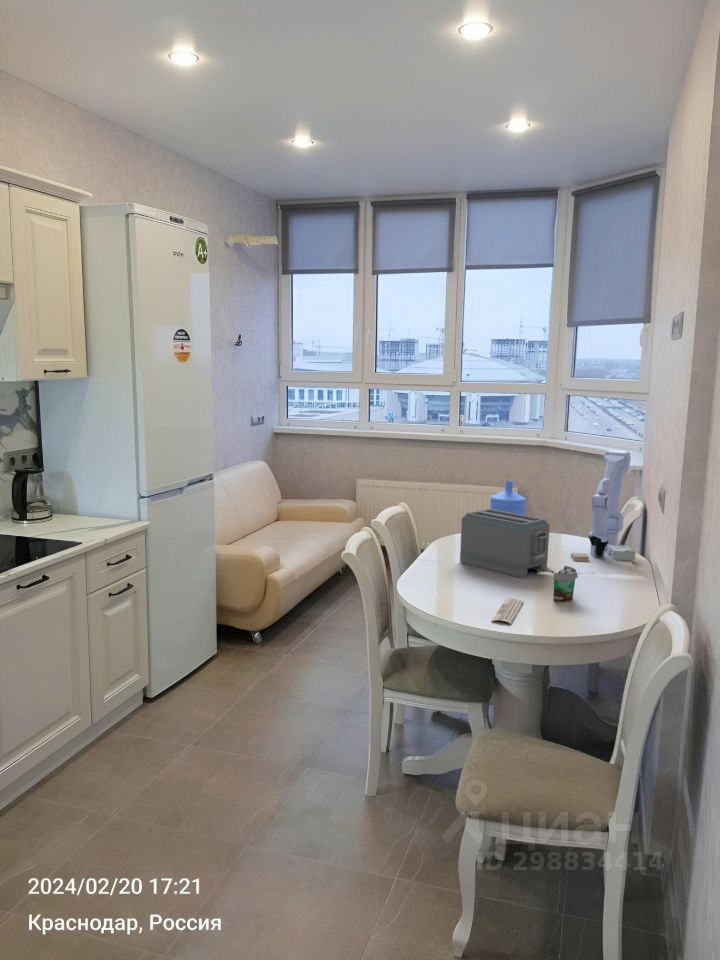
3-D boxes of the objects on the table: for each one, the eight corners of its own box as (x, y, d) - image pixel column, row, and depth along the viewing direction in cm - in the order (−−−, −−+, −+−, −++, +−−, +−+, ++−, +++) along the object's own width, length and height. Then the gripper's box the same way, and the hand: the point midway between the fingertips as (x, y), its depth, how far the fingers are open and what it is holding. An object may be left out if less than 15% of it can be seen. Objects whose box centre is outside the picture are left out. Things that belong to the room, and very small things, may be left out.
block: (590, 556, 305) (590, 545, 304) (600, 557, 305) (601, 545, 304) (593, 559, 301) (594, 547, 300) (604, 559, 301) (604, 548, 300)
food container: (570, 605, 242) (572, 576, 240) (552, 602, 245) (553, 573, 243) (580, 596, 252) (582, 568, 251) (562, 592, 255) (564, 565, 254)
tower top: (571, 557, 300) (571, 552, 300) (586, 557, 299) (586, 552, 299) (573, 560, 294) (573, 555, 294) (588, 561, 293) (588, 556, 293)
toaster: (529, 581, 269) (532, 527, 266) (458, 562, 293) (460, 512, 290) (556, 572, 282) (559, 520, 279) (486, 555, 306) (488, 507, 303)
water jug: (527, 547, 320) (530, 484, 316) (491, 546, 320) (494, 484, 316) (519, 539, 335) (523, 479, 331) (485, 538, 335) (488, 478, 331)
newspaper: (510, 627, 222) (511, 621, 222) (487, 624, 224) (488, 618, 224) (523, 604, 243) (523, 599, 243) (502, 602, 246) (502, 596, 246)
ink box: (614, 550, 297) (607, 543, 309) (612, 562, 298) (606, 554, 309) (635, 551, 296) (628, 544, 308) (634, 564, 297) (627, 556, 309)
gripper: (584, 519, 308) (582, 550, 310) (595, 526, 293) (593, 559, 295) (601, 519, 308) (598, 550, 310) (612, 526, 293) (610, 559, 295)
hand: (597, 554), depth 303 cm, fingers closed on block, 4 cm apart
